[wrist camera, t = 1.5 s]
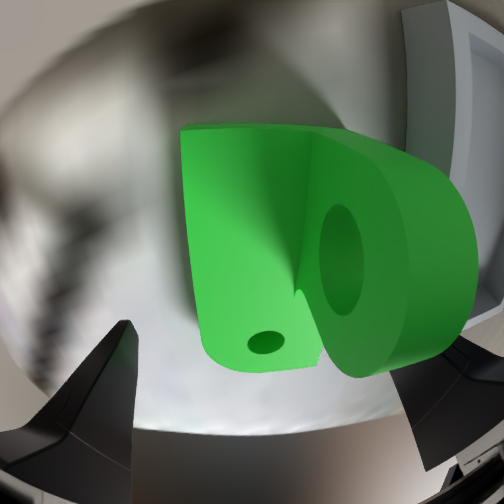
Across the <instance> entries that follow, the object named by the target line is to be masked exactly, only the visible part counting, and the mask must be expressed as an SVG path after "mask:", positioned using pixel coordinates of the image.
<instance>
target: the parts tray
mask: <svg viewBox="0 0 504 504" xmlns="http://www.w3.org/2000/svg"><path fill="white" fill-rule="evenodd" d="M401 16H402V23H403V31H404V41H405V52H406V68H407V130H406V147H405V152H406V153H408V154H410V155H412V156H414V157H417V158H419V159H421V160H423V161H425V162H427V163H429V164H431V165H433V166H434V167H436V168H437V169H439V170H440V171H441V172H442V173H444V174H445V175H446V176H447V177H448V179H449V180H450V181H451V182H452V183H453V185H454V186H455V187H456V189H457V190H458V192H459V193H460V195H461V197H462V198H463V200H464V202H465V204H466V207H467V209H468V211H469V214H470V216H471V219H472V223H473V226H474V230H475V234H476V239H477V247H478V258H479V272H478V284H477V290H476V295H475V299H474V303H473V307H472V310H471V313H470V315H469V317H468V320H467V322H466V324H465V326H464V328H463V330H465V329H468V328H470V327H472V326H474V325H476V324H478V323H480V322H482V321H484V320H486V319H488V318H490V317H492V316H494V315H496V314H498V313H500V312H501V311H502V309H503V307H504V35H503V34H501V33H500V32H499V31H497V30H496V29H494V28H493V27H492V26H490V25H489V24H487V23H486V22H484V21H483V20H481V19H479V18H478V17H476V16H475V15H473V14H471V13H470V12H468V11H466V10H465V9H463V8H461V7H459V6H457V5H456V4H454V3H452V2H450V1H448V0H442V1H436V2H432V3H427V4H423V5H419V6H415V7H411V8H407V9H403V10H401ZM463 330H462V331H463Z"/></svg>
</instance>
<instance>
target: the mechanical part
mask: <svg viewBox="0 0 504 504" xmlns="http://www.w3.org/2000/svg"><path fill="white" fill-rule="evenodd" d="M180 144H181V164H182V179H183V193H184V205H185V217H186V227H187V237H188V247H189V256H190V264H191V272H192V280H193V288H194V295H195V302H196V309H197V316H198V322H199V328H200V335H201V341H202V345H203V347H204V350H205V351H206V353H207V354H208V355H209V357H210V358H211V359H213V360H214V361H215V362H216V363H218V364H220V365H222V366H224V367H226V368H229V369H232V370H235V371H240V372H247V373H263V372H273V371H282V370H291V369H299V368H306V367H313V366H316V365H317V362H318V359H319V356H320V353H321V350H322V347H323V345H324V347H325V349H326V351H327V353H328V355H329V357H330V358H331V360H332V361H333V363H334V364H335V365H336V366H337V368H338V369H340V370H341V371H342V372H343V373H345V374H346V375H348V376H350V377H354V378H363V377H367V376H371V375H375V374H379V373H383V372H387V371H390V370H394V369H397V368H401V367H404V366H407V365H411V364H414V363H417V362H420V361H423V360H426V359H429V358H432V357H434V356H436V355H438V354H440V353H442V352H443V351H444V350H445V349H447V348H448V347H449V346H450V345H451V344H452V343H453V342H454V341H455V340H456V338H457V337H458V336H459V334H460V333H461V332H462V330H463V328H464V326H465V324H466V322H467V320H468V317H469V315H470V313H471V310H472V307H473V303H474V299H475V295H476V290H477V284H478V272H479V258H478V247H477V239H476V234H475V230H474V226H473V223H472V219H471V216H470V214H469V211H468V209H467V207H466V204H465V202H464V200H463V198H462V197H461V195H460V193H459V192H458V190H457V189H456V187H455V186H454V185H453V183H452V182H451V181H450V180H449V179H448V177H447V176H446V175H445V174H444V173H442V172H441V171H440V170H439V169H437V168H436V167H434V166H433V165H431V164H429V163H427V162H425V161H423V160H421V159H419V158H417V157H414V156H412V155H410V154H408V153H406V152H403V151H401V150H399V149H396V148H394V147H392V146H389V145H387V144H384V143H382V142H379V141H377V140H374V139H372V138H369V137H366V136H364V135H361V134H358V133H355V132H352V131H350V130H347V129H339V128H330V127H320V126H308V125H294V124H273V123H213V124H193V125H186V126H185V127H184V128H183V129H181V130H180Z"/></svg>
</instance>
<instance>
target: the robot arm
mask: <svg viewBox="0 0 504 504" xmlns="http://www.w3.org/2000/svg"><path fill="white" fill-rule="evenodd" d="M138 344H139V338H138V334H137V332H136V330H135V328H134V326H133V324H132V322H131V321H130V320H120V321H118V322H117V324H116V325H115V326H114V327H113V328H112V329H111V330H110V331H109V332H108V334H107V335H106V336H105V337H104V338H103V339H102V340H101V341H100V342H99V344H98V345H97V346H96V347H95V348H94V349H93V350H92V352H91V353H90V354H89V355H88V356H87V357H86V358H85V360H84V361H83V362H82V363H81V364H80V365H79V367H78V368H77V369H76V370H75V371H74V372H73V374H72V375H71V376H70V377H69V378H68V380H67V381H66V382H65V383H64V384H63V385H62V387H61V388H60V389H59V390H58V391H57V392H56V394H55V395H54V396H53V397H52V398H51V399H50V400H49V401H48V403H46V404H45V406H44V407H43V408H42V409H41V410H40V411H39V412H38V413H37V414H36V415H35V416H34V417H33V418H32V419H31V420H30V421H29V422H28V423H27V424H25V425H24V426H22V427H20V428H18V429H14V430H9V431H4V432H0V504H132V502H131V455H132V434H133V419H134V407H135V396H136V387H137V378H138ZM389 372H390V374H391V377H392V379H393V381H394V384H395V386H396V389H397V391H398V394H399V396H400V399H401V402H402V404H403V407H404V410H405V412H406V415H407V418H408V420H409V423H410V426H411V428H412V432H413V435H414V438H415V441H416V444H417V447H418V450H419V453H420V456H421V459H422V462H423V465H424V469H425V471H426V472H427V471H429V470H431V469H433V468H434V467H436V466H438V465H440V464H441V463H443V462H444V461H446V460H448V459H450V458H451V457H453V456H456V459H457V461H458V463H457V464H455V465H454V466H452V467H451V468H449V471H448V473H447V476H446V478H445V481H444V483H443V485H442V488H441V490H440V492H438V493H437V494H435V495H433V496H431V497H430V498H428V499H426V500H424V501H423V502H420V503H418V504H504V357H500V356H497V355H495V354H493V353H491V352H489V351H488V350H486V349H484V348H482V347H480V346H478V345H476V344H474V343H472V342H471V341H469V340H467V339H465V338H464V337H462V336H460V335H459V336H458V337H457V338H456V340H455V341H454V342H453V343H452V344H451V345H450V346H449V347H448V348H447V349H445V350H444V351H443V352H442V353H440V354H438V355H436V356H434V357H432V358H429V359H426V360H423V361H420V362H417V363H414V364H411V365H407V366H404V367H401V368H397V369H394V370H390V371H389Z"/></svg>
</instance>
